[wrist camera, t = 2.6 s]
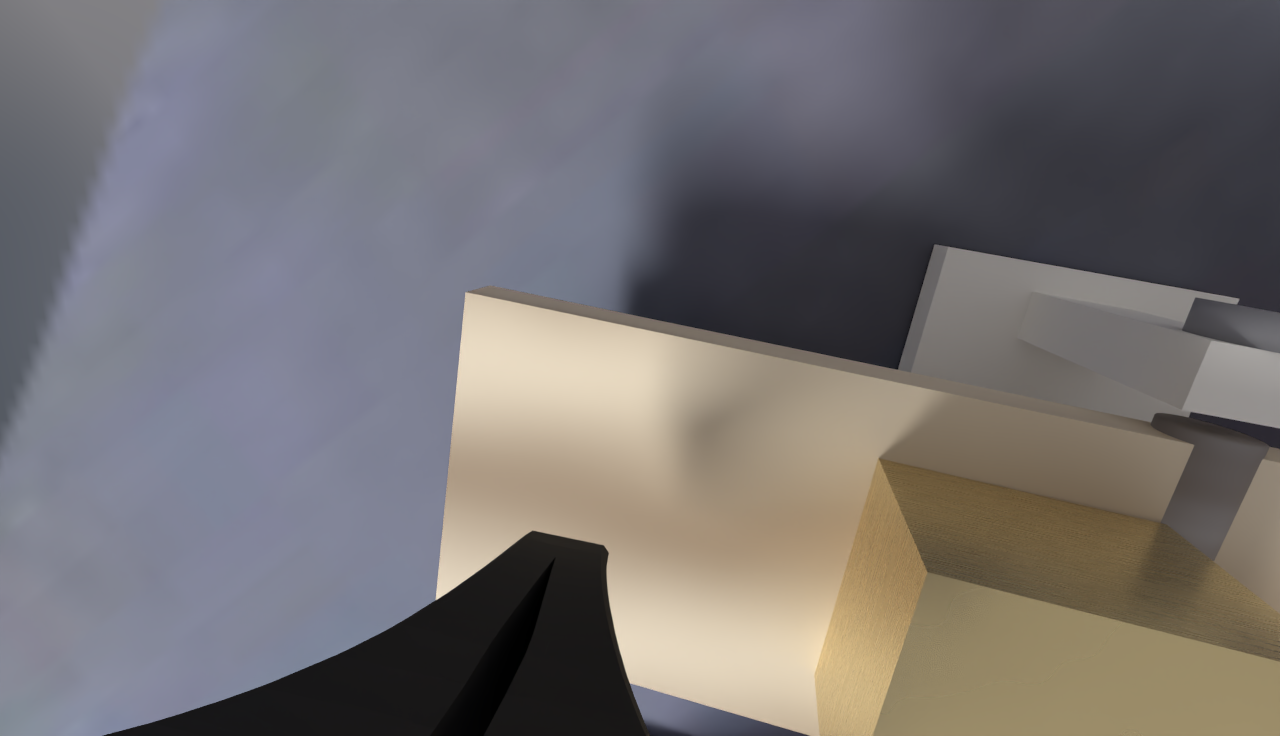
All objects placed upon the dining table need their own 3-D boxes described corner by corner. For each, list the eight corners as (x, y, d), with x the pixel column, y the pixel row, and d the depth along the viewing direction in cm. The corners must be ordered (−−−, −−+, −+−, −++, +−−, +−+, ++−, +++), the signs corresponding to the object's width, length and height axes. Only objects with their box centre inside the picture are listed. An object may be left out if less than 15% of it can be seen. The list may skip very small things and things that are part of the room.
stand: (1038, 701, 20) (1206, 954, 13) (814, 653, 20) (867, 875, 14) (1208, 292, 16) (1552, 355, 10) (934, 244, 17) (1084, 272, 10)
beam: (1641, 864, 14) (1934, 1081, 11) (494, 554, 18) (427, 638, 15) (1897, 542, 12) (2375, 680, 9) (530, 267, 16) (461, 283, 13)
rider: (1068, 747, 13) (1196, 979, 9) (814, 675, 13) (830, 859, 9) (1167, 525, 11) (1370, 684, 7) (878, 458, 12) (927, 572, 8)
